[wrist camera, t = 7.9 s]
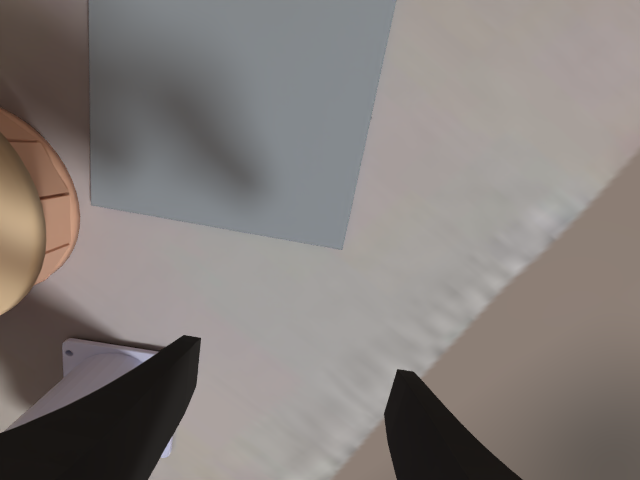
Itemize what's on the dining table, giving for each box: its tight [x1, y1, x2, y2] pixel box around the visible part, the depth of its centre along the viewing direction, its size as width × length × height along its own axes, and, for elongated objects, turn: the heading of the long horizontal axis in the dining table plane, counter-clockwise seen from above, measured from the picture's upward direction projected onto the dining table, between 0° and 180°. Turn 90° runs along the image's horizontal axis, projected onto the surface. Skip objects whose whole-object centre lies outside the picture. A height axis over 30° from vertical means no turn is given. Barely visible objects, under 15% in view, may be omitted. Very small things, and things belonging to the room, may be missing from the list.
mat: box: [89, 0, 396, 250], centre depth 18 cm, size 16×16×1 cm
